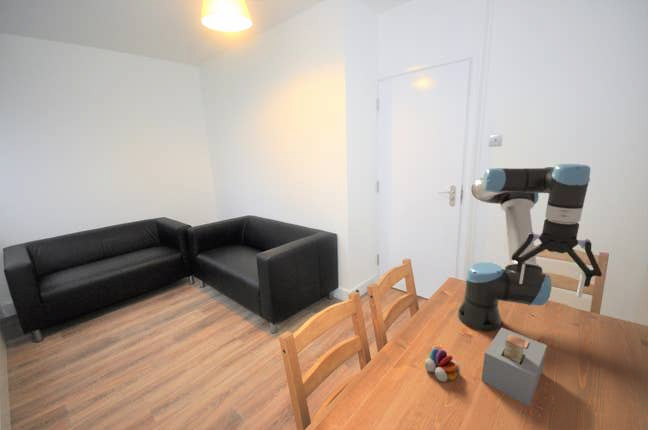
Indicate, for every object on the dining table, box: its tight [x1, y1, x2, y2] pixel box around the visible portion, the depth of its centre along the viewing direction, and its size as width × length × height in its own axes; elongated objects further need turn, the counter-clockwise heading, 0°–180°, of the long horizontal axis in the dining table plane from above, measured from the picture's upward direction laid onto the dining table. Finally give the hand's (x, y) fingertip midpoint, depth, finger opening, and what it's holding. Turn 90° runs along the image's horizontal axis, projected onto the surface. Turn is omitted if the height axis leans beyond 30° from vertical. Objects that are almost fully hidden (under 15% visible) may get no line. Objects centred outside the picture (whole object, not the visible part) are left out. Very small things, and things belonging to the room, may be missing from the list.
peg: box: [503, 334, 526, 364], centre depth 80 cm, size 4×4×9 cm
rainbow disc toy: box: [424, 348, 461, 382], centre depth 86 cm, size 8×10×7 cm
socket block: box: [480, 326, 548, 407], centre depth 83 cm, size 12×16×10 cm
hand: (548, 288), depth 83 cm, fingers open, 13 cm apart
